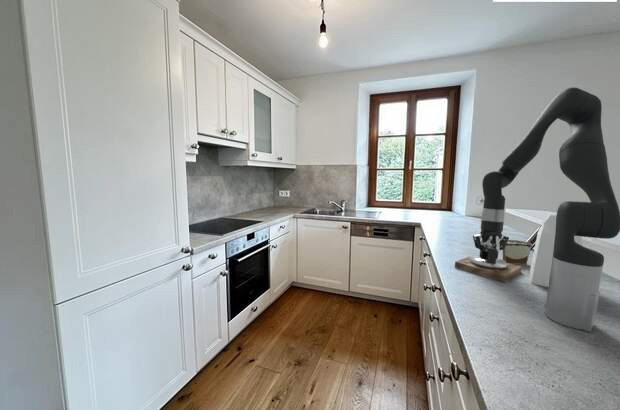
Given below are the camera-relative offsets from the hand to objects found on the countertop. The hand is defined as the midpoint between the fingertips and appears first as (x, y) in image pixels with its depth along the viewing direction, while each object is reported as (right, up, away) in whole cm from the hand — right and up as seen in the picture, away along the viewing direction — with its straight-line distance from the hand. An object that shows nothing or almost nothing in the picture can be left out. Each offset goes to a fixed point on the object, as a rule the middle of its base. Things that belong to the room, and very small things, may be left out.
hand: (488, 258), depth 103 cm
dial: (0, -2, +1) cm, 2 cm away
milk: (+16, -7, -11) cm, 20 cm away
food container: (+19, -4, +12) cm, 23 cm away
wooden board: (0, -5, +1) cm, 5 cm away
